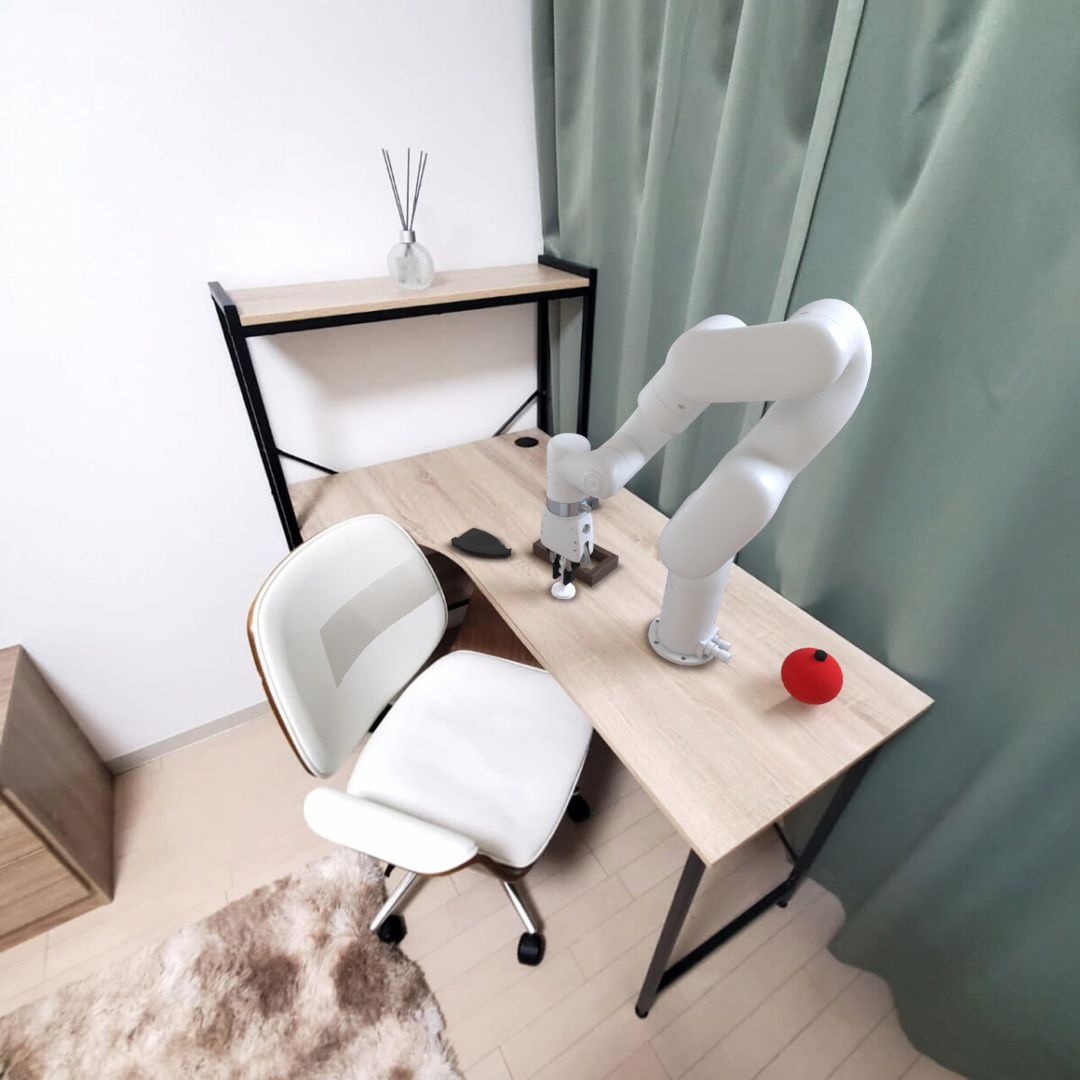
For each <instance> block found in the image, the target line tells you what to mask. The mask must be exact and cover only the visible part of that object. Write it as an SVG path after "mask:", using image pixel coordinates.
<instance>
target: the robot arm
mask: <svg viewBox="0 0 1080 1080" xmlns="http://www.w3.org/2000/svg"><path fill="white" fill-rule="evenodd" d="M665 357H666V358H665V361H664V364H663V365H662V366H661V367H660V368H659V370H658V371H657V372H656V373H655V374H654V375H653V376H652V378H651V379H650V380H649V381H648V382H647V383H646V384H645V386H643V388H642V389H641V391H640V392H639V394H638V396H637V407H636V409H634V411H633V413H632V414H631V415H630V416H629V418H628V419H627V420H626V421H624V423H623V424H622V426H621V427H620V428H619V429H618V430H617V431H616V432H615V433H614V435H612V436H611V437H610V438H609V439H608V440H607V441H605V442H604V443H603V444H602V445H600V446H599V447H597V448H596V449H593V450H592V445H591V443H590V441H589V440H588V438H587V437H585V436H583V435H581V434H578V433H574V432H564V433H559V434H556V435H554V436H552V437H551V438H550V439H549V441H548V442H547V446H546V487H545V488H546V490H545V491H546V493H545V495H546V496H545V498H546V499H545V502H544V505H543V508H542V512H541V516H540V517H541V519H540V526H539V527H540V529H539V533H540V534H539V535H540V536H539V537H540V538H539V539H540V543H541V544H542V545H543V546H544V547H545V548H546V550H547V551H548V553H549V555H550V561H551V562H553V565H552V575H551V576H552V579H553V580H557V579H559V578H561V573H560V572H559V568H560V567H561V565H560V562H559V560H560V559H561V556H563V557H565V558H566V568H565V569H564V570H563V585H565V586H566V585H568V584H569V583H573V582H575V580H576V579H577V578H576V568H578V567H582V568H590V566H592V559H591V558H590V556H589V554H591V553H592V552H593V543H594V522H593V516H592V509H593V508H592V507H591V506H589V505H588V495H590V496H592V497H594V498H598V499H599V500H608V499H610V498H613V497H614V496H615V495H616V494H618V493H619V491H620V490H621V489H622V488H623V487H624V486H626V484H627V483H628V482H629V481H630V480H632V478H633V477H634V476H635V475H636V474H637V473H638V472H640V470H641V469H642V468H643V467H644V466H645V465H646V464H647V463H648V462H649V461H650V460H651V459H652V458H653V457H654V456H655V455H656V454H657V453H658V452H659V451H660V450H661V449H662V448H663V447H664V446H665V445H666V444H667V443H668V442H669V441H671V439H672V438H673V437H675V436H679V435H680V434H682V433H683V432H684V431H685V430H686V429H687V428H688V427H689V426H690V425H691V424H692V423H693V422H694V421H695V420H696V419H697V418H698V417H699V416H700V415H701V413H704V411H705V410H706V409H707V408H708V407H709V406H710V405H711V404H713V403H714V404H724V403H725V404H727V403H753V402H773V403H772V405H770V407H769V408H768V409H767V410H766V412H765V414H764V415H763V416H762V417H761V418H760V419H759V421H758V422H756V424H755V425H754V426H753V427H752V428H751V429H750V430H749V432H748V433H747V434H746V435H745V436H744V437H743V438H742V439H741V440H740V441H739V442H738V443H737V444H736V445H735V446H734V447H733V448H731V449H730V450H729V451H728V452H727V453H726V454H725V455H724V456H723V457H722V458H721V460H720V461H719V463H717V465H716V466H715V467H714V469H713V470H712V471H711V473H710V474H709V475H708V476H707V478H705V480H704V482H702V484H701V485H700V486H699V487H698V488H697V489H696V490H694V491H693V492H691V493H690V494H689V495H688V496H687V497H686V499H685V500H684V501H683V502H682V504H681V505H679V507H678V508H677V510H676V511H675V512H674V514H673V515H672V517H671V518H670V519H669V520H668V522H667V523H666V525H665V526H664V527H663V528H662V530H661V532H660V535H659V537H658V542H657V550H658V556H659V558H660V560H661V563H662V564H663V566H664V567H665V568H666V570H667V576H666V581H665V587H664V591H663V592H664V593H663V598H662V603H661V609H660V614H659V616H656V618H654V619H653V620H652V622H651V624H650V625H649V627H648V628H649V629H648V634H647V637H648V641H649V644H650V646H651V648H652V649H653V650H654V652H655V653H657V655H659V656H660V657H662V658H663V659H665V660H667V661H669V662H670V663H673V664H675V665H676V664H677V665H679V666H687V667H688V666H689V667H692V666H701V665H704V664H706V663H708V662H710V661H711V660H712V659H714V658H716V660H718V661H719V662H722V663H723V664H725V665H728V664H729V663H730V661H731V660H732V657H733V654H731V652H729V651H730V649H731V648H732V644H731V643H729V642H727V641H726V640H723V639H721V638H720V636H719V631H720V627H718V626H717V625H716V622H717V619H718V615H719V610H720V607H721V603H722V601H723V597H724V593H725V588H726V586H727V583H728V579H729V577H730V576H729V575H730V573H731V568H732V564H733V562H734V558H735V556H736V555H737V554H738V553H739V552H740V551H741V550H742V549H743V548H744V547H745V546H746V545H747V544H748V543H750V542H751V541H752V540H753V539H755V537H756V536H757V535H758V534H759V533H760V532H761V531H762V530H763V529H764V528H765V527H766V526H767V525H768V523H769V522H770V521H771V520H772V518H773V516H775V514H776V512H777V510H778V508H779V506H780V504H781V502H782V500H783V498H784V496H785V495H786V493H787V490H788V488H789V487H790V485H791V484H792V482H793V481H794V480H795V478H796V477H797V476H798V475H799V474H800V473H801V472H802V471H803V470H804V469H805V468H806V467H807V466H808V465H809V464H810V463H811V462H812V461H813V460H814V459H815V458H816V457H817V456H818V455H819V453H820V452H821V451H823V449H824V448H825V447H827V445H828V444H830V442H831V441H833V439H834V438H835V437H836V436H837V434H838V433H840V431H841V430H842V429H843V427H844V426H845V425H846V424H847V422H848V421H849V420H850V418H851V417H852V416H853V414H854V413H855V411H856V409H857V408H858V406H859V404H860V402H861V400H862V398H863V395H864V394H865V391H866V388H867V385H868V382H869V378H870V374H871V368H872V358H873V350H872V343H871V338H870V334H869V330H868V327H867V325H866V323H865V320H864V319H863V317H862V315H861V314H860V313H859V311H858V310H857V309H856V308H855V307H853V305H851V304H850V303H849V302H846V301H844V300H841V299H837V298H823V299H818V300H814V301H811V302H810V303H807V304H805V305H803V306H802V307H801V308H799V309H797V310H796V311H795V312H794V313H793V314H792V315H790V316H789V318H787V319H786V320H784V321H776V322H769V323H762V324H755V325H747V324H746V323H745V322H744V321H743V320H741V319H740V318H738V317H736V316H733V315H729V314H715V315H712V316H708V317H707V318H705V319H703V320H701V321H700V322H698V323H697V324H695V325H694V326H693V327H691V328H689V329H688V330H686V331H685V332H683V333H682V334H681V335H680V336H679V337H678V338H677V339H676V340H675V341H674V342H673V343H672V345H671V346H670V348H669V350H668V351H667V354H666V356H665ZM572 561H573V562H572ZM719 647H720V648H719Z"/></svg>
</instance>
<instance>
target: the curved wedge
mask: <svg viewBox="0 0 1080 1080" xmlns="http://www.w3.org/2000/svg"><path fill="white" fill-rule="evenodd" d="M450 542H451V547H452V549H455V550H456V551H459V552H461V553H462V554H465V555H468V556H471V557H476V558H483V559H504V558H510V557H511V556H512V550H513V548H512V547H511V548H507V547H506V546H505V544H503V543H502V542H501V541H500V539H499V538H498V537H496V536H495V535H493V534H491V533H489V532H487V531H486V530H484V529H483V530H482V529H479V528H476V527H472V528H470V529H468V530H467V531H465V532H464V533H462V534H461V535H459V536H454V537H452V538H451V539H450Z"/></svg>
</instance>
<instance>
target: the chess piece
mask: <svg viewBox="0 0 1080 1080" xmlns="http://www.w3.org/2000/svg"><path fill="white" fill-rule="evenodd" d="M559 562H560V565H561V567H560V568H559V572H560V573H561V576H560V580H559V581H557V582H555V583H554V584H553V585H552V587H551V594H552V596H553V597H554V598H556V599H558V600H568V599H571V598H573V597H574V596H575V594H576V588H575V587H576V586H575V585H574V584H573V583H572V582H570V583H569V584H568V585H566V586H565V585H563V570H564V569H565V568H566V558H565V557H563V556H561V559H560V560H559Z"/></svg>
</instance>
